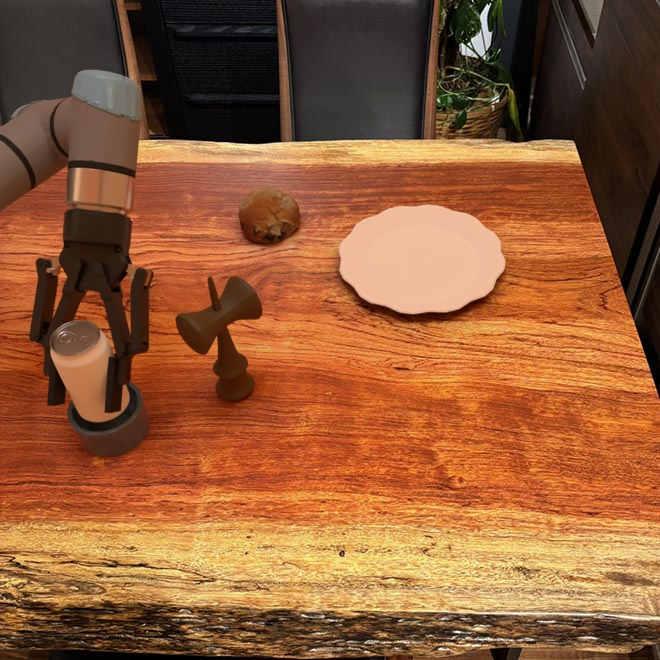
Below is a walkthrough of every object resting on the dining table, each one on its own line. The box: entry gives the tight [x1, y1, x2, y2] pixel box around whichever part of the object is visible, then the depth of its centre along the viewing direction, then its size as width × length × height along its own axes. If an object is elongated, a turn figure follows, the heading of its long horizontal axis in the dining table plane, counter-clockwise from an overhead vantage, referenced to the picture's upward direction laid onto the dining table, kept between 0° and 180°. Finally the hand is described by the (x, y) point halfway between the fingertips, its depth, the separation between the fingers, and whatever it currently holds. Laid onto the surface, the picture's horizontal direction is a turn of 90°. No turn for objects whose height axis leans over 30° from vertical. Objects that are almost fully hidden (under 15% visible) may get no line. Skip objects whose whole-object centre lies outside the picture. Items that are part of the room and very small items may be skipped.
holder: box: [66, 381, 151, 458], centre depth 102 cm, size 9×9×4 cm
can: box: [50, 319, 130, 422], centre depth 95 cm, size 6×6×12 cm
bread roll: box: [238, 186, 301, 244], centre depth 129 cm, size 10×10×8 cm
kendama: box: [175, 275, 263, 402], centre depth 100 cm, size 6×10×20 cm, turn 138°
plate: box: [337, 204, 507, 316], centre depth 122 cm, size 25×25×2 cm
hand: (84, 407), depth 95 cm, fingers closed on can, 6 cm apart
